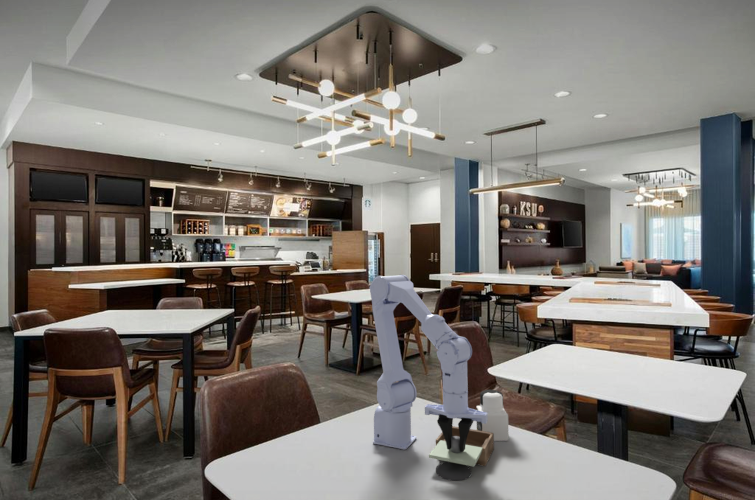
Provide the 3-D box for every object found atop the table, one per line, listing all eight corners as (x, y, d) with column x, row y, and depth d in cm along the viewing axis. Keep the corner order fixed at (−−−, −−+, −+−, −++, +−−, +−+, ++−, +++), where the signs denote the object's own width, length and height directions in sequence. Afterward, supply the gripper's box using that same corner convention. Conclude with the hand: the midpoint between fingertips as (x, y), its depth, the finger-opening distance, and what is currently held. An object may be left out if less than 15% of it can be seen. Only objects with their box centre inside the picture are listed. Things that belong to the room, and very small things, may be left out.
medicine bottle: (476, 430, 124) (475, 387, 124) (502, 430, 124) (501, 387, 124) (481, 441, 117) (480, 396, 117) (509, 441, 116) (508, 395, 117)
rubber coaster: (430, 476, 99) (430, 474, 99) (441, 460, 106) (441, 459, 106) (466, 483, 95) (466, 481, 95) (475, 467, 103) (475, 465, 103)
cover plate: (440, 442, 109) (440, 427, 109) (482, 450, 104) (482, 434, 105) (428, 457, 101) (428, 441, 101) (474, 466, 97) (473, 449, 97)
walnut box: (447, 440, 117) (447, 425, 117) (493, 449, 112) (493, 432, 112) (435, 456, 108) (435, 439, 108) (485, 466, 103) (484, 448, 103)
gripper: (419, 391, 103) (420, 450, 102) (482, 399, 96) (483, 462, 96) (429, 383, 109) (430, 438, 109) (489, 390, 103) (490, 449, 102)
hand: (456, 449), depth 103 cm, fingers closed on cover plate, 2 cm apart
